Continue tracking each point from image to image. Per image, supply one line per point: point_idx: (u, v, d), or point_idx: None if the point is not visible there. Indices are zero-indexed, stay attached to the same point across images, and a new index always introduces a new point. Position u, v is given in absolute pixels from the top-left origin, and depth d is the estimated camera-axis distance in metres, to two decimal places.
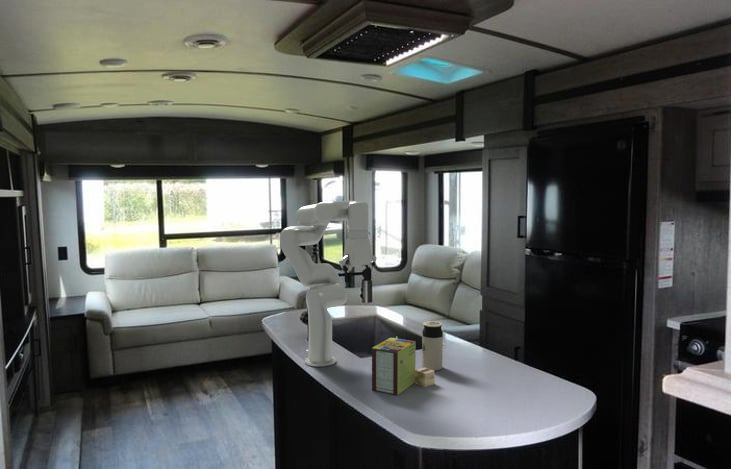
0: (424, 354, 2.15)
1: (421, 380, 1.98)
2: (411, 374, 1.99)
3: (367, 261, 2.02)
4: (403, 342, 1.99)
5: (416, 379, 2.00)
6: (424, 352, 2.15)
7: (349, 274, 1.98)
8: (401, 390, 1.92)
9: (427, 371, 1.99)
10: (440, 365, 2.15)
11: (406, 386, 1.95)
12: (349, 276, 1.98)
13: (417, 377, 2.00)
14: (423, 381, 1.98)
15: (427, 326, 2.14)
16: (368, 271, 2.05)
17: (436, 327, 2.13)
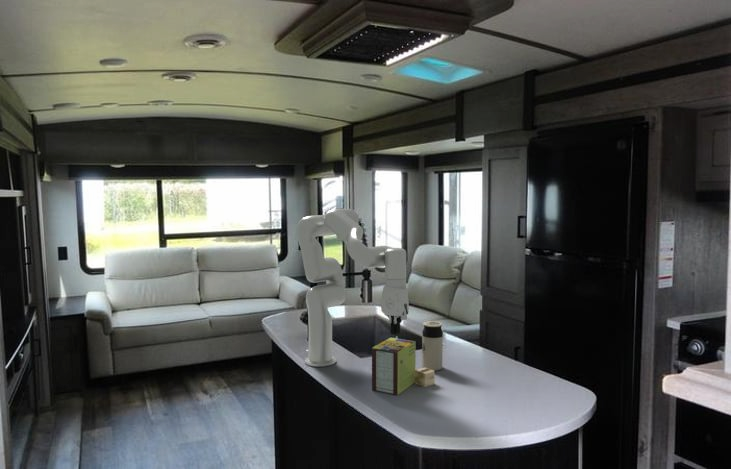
0: (424, 354, 2.15)
1: (421, 380, 1.98)
2: (411, 374, 1.99)
3: None
4: (403, 342, 1.99)
5: (416, 379, 2.00)
6: (424, 352, 2.15)
7: None
8: (401, 390, 1.92)
9: (427, 371, 1.99)
10: (440, 365, 2.15)
11: (406, 386, 1.95)
12: None
13: (417, 377, 1.99)
14: (423, 381, 1.98)
15: (427, 326, 2.14)
16: None
17: (436, 327, 2.13)
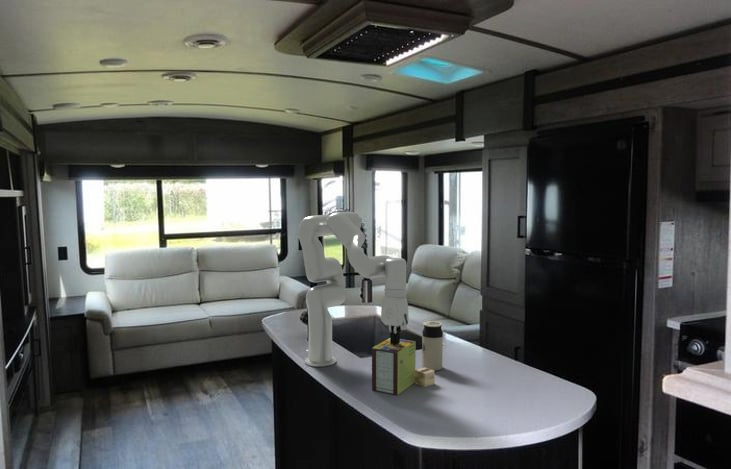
0: (424, 354, 2.15)
1: (421, 380, 1.98)
2: (411, 374, 1.99)
3: None
4: (403, 342, 1.99)
5: (416, 379, 2.00)
6: (424, 352, 2.15)
7: None
8: (401, 390, 1.92)
9: (427, 371, 1.99)
10: (440, 365, 2.15)
11: (406, 386, 1.95)
12: None
13: (417, 377, 2.00)
14: (423, 381, 1.98)
15: (427, 326, 2.14)
16: None
17: (436, 327, 2.13)
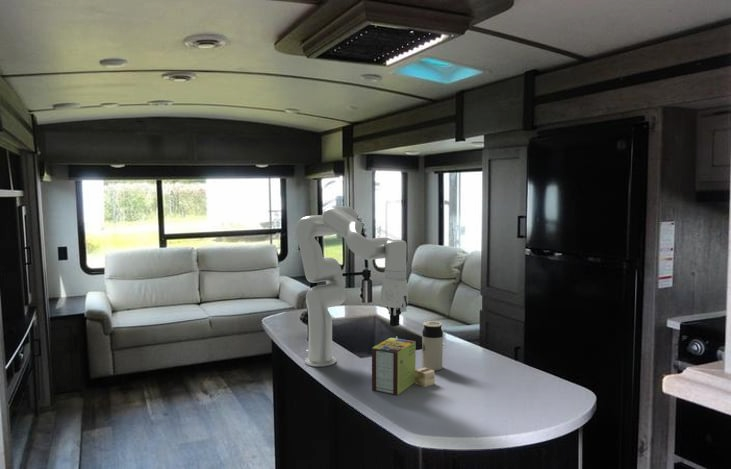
0: (424, 354, 2.15)
1: (421, 380, 1.98)
2: (411, 374, 1.99)
3: None
4: (403, 342, 1.99)
5: (416, 379, 2.00)
6: (424, 352, 2.15)
7: (398, 316, 1.96)
8: (401, 390, 1.92)
9: (427, 371, 1.99)
10: (440, 365, 2.15)
11: (406, 386, 1.95)
12: (398, 318, 1.96)
13: (417, 377, 2.00)
14: (423, 381, 1.98)
15: (427, 326, 2.14)
16: None
17: (436, 327, 2.13)
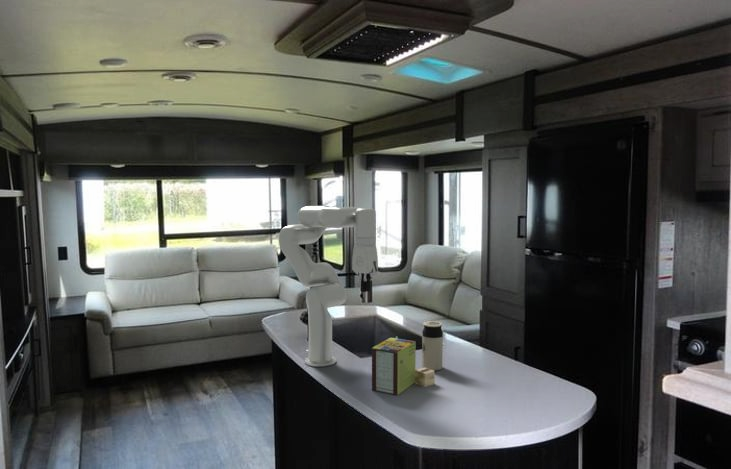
0: (424, 354, 2.15)
1: (421, 380, 1.98)
2: (411, 374, 1.99)
3: None
4: (403, 342, 1.99)
5: (416, 379, 2.00)
6: (424, 352, 2.15)
7: None
8: (401, 390, 1.92)
9: (427, 371, 1.99)
10: (440, 365, 2.15)
11: (406, 386, 1.95)
12: None
13: (417, 377, 2.00)
14: (423, 381, 1.98)
15: (427, 326, 2.14)
16: None
17: (436, 327, 2.13)
